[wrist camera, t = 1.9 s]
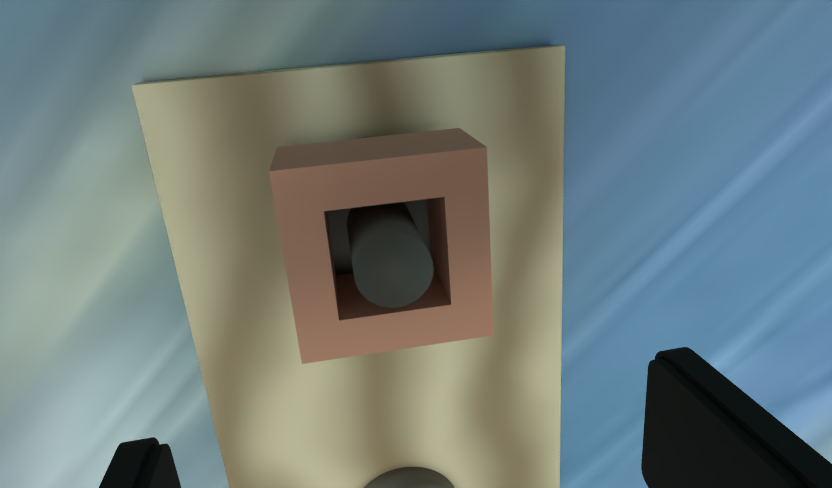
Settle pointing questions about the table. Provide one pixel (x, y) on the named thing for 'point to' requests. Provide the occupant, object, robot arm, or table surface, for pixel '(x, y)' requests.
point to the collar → (374, 185)
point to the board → (251, 288)
